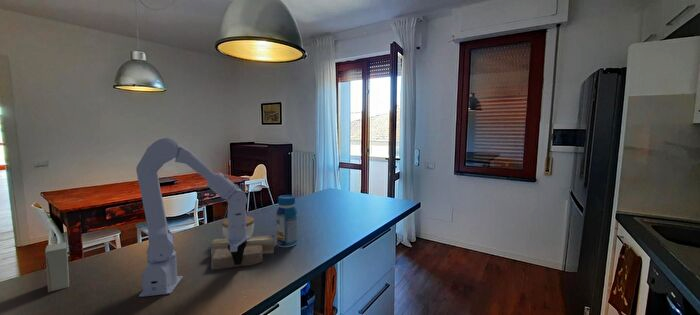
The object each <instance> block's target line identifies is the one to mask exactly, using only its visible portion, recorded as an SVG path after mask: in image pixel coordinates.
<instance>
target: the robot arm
mask: <svg viewBox="0 0 700 315" xmlns="http://www.w3.org/2000/svg"><path fill="white" fill-rule="evenodd" d="M172 160H175V161H174V162H175V163H179V164H185V165H187V166H188V167H190V169H192V170H193V171H195V172H196V173H197V174H199V176H201V178H204V180H206V185H207V186H206V187H208V188H209V189H210V190H212V192H214V193H215V194H216V195H218V196H219V197H220V198H221V199H222V200H225V201H226V203H228V204H227V218H228V243H229V245H228V250H229V251H230V252H231V254H232V257H233V261H234V264H235V265H240V264H241V263H242V260H243V254H244V249H245V247H246V244H247V240H249V239H250V236H247V233H246V216H247V210H246V208H247V207H246V205H247V202H248V200H249V199H248V198H247V197H248V196H247V194H246V193H245V192H244V191H243V190H242V188H240V186H239V185H238V184H235V183H234V182H233V181H231V180H230V179H229V175H227V174H226V173H222V172H214V171H213V170H212V169H211V168H210V167H208V166H207V165H206V164H205V163H204V162H203V161H202V160H200V158H198V156H196V155H195V153H193V152H192V151H190V150H189V149H187V148H186V147H184V146H183V145H181V144H178V143H177V141H175V140H174V139H172V138H170V137H162V138H159V139H157V140H155V141H154V142H153V143H152V144H150V145H149V146H148V147H147V148H146V150H145V152H144V154H143V155H142V156H141V158H140V160H139V162H138V164H137V166H136V168H135V171H136V175H137V180H138V187H139V191H140V195H141V200H142V205H143V211H144V216H145V220H146V224H147V236H148V237H147V238H148V246H147V249H146V263H147V264H146V266H145V269H143V272H142V275H141V283H142V284H141V285H142V291H141V293H139V297H142V298H143V297H150V296H159V295H170V294H172V292H173V291H175V288H176V287H177V286H178V284H179V283H180V281H181V280H182V279H183V278H184V277H183V275H178V264H177V262H178V261H177V251H175V250H174V248H175V246H174V242H175V235H174V234H173V232H171V231H170V227H169V224H168V222H167V217H166V211H165V205H164V200H163V194H162V191H161V186H160V180H159V174H158V171H159V170H160V169H161V168H162V167H163V166H164V165H165V164H167V163H168V162H170V161H172Z"/></svg>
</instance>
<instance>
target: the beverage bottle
mask: <svg viewBox="0 0 700 315" xmlns="http://www.w3.org/2000/svg"><path fill="white" fill-rule="evenodd" d="M277 198H278V199H277V204H278V208H277V210H276V216H277V217H276V219H275V221H276V244H277V245H276V246H278V247H281V248H290V247H294V246H295V245H297V243H298V216H297V213H298V211H297V209H296V206H295V204H296V196H295V195H292V194H284V195H283V194H282V195H280V196H278V197H277Z"/></svg>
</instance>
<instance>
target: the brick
mask: <svg viewBox="0 0 700 315" xmlns="http://www.w3.org/2000/svg"><path fill="white" fill-rule="evenodd" d="M263 256H264V254H263V248H262V244H254V245H248V246H246V247H245V249H244V254H243V260H242V263H241V264H240V265H235V264H234V261H233V257H232V254H231V252H230V251H229V250H228V248H222V249H217V250H216V251H215V252H214V255H213V256H212V258H211V264H210V265H211V270H220V269H227V268H228V269H229V268H235V267H241V266H252V265H257V264H260V263H262V262H263V259H264V258H263Z"/></svg>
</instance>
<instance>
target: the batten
mask: <svg viewBox="0 0 700 315" xmlns="http://www.w3.org/2000/svg"><path fill="white" fill-rule="evenodd" d="M254 244H262V248H263V255H267V254H274V252H275V235H261V236H258V235H257V236H251V237H250V239H249V240H247V244H246V246H248V245H254ZM228 245H229V243H228V238H227V239H226V238H215V239H213V240H212V241H211V243H210V251H211V252H210V255H211V259H212V256H213V255H214V252H215V251H216V250H217V249H222V248H228Z"/></svg>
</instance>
